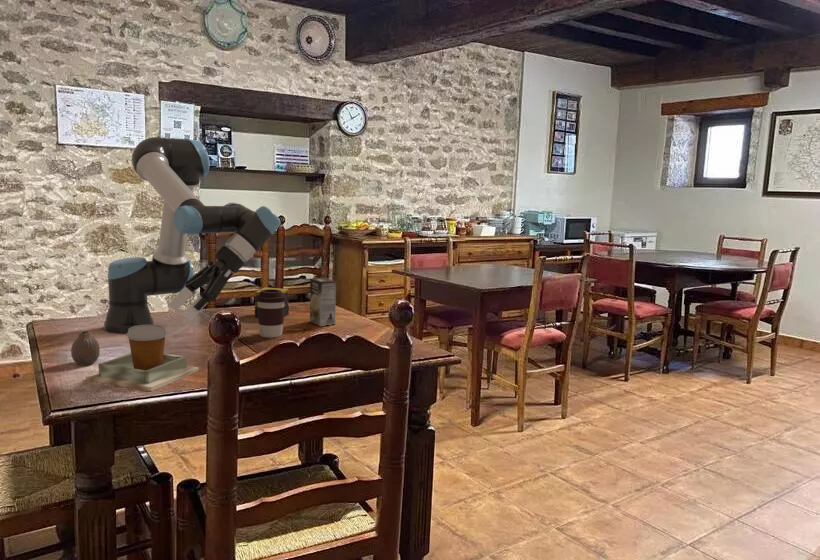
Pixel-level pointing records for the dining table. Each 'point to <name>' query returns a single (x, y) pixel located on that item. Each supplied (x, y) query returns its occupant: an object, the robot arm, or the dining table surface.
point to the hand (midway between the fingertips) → (178, 312)
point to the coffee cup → (270, 312)
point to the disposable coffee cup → (147, 345)
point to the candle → (285, 292)
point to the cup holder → (142, 372)
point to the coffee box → (322, 301)
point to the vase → (85, 349)
